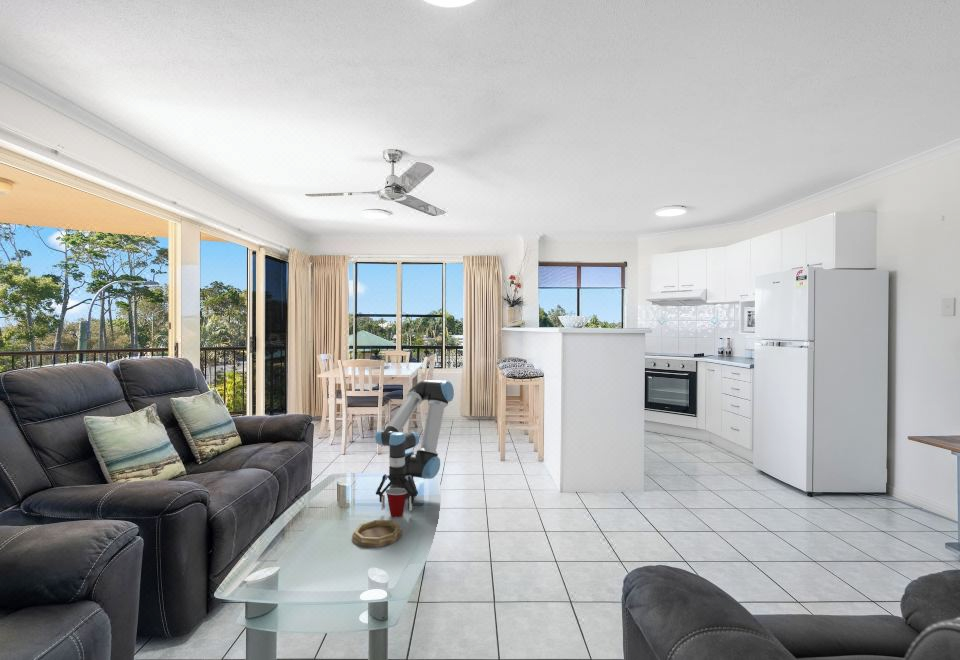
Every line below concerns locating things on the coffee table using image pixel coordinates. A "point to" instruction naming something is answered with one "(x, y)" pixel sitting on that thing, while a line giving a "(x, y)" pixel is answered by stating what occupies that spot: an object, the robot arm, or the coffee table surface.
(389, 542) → the ring base
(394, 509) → the plastic cup
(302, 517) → the coffee table surface
